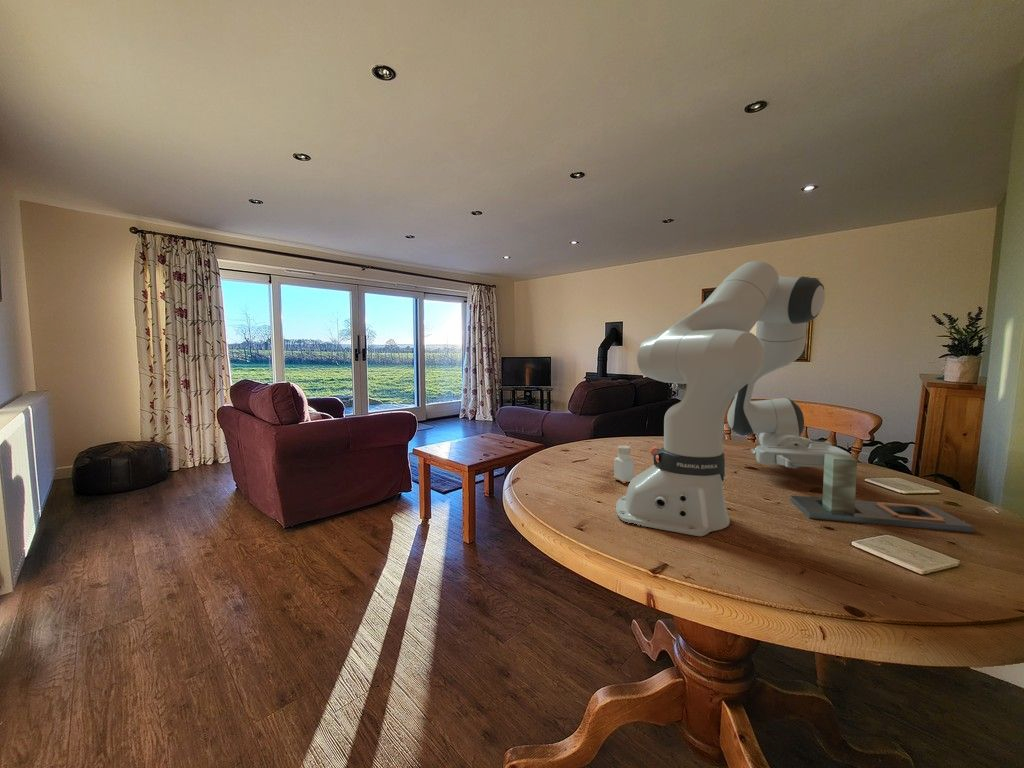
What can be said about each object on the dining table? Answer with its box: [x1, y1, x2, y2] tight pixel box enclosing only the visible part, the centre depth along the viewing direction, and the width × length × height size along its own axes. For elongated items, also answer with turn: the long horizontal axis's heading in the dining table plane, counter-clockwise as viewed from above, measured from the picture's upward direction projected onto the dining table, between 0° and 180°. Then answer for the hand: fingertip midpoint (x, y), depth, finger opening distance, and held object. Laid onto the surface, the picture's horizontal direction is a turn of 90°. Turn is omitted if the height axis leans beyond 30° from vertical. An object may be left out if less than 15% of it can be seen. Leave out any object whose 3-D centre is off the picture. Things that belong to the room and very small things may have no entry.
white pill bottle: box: [613, 444, 635, 481], centre depth 105 cm, size 4×4×10 cm
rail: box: [789, 495, 975, 534], centre depth 81 cm, size 26×10×2 cm, turn 73°
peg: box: [822, 454, 858, 513], centre depth 83 cm, size 4×4×12 cm
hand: (813, 465), depth 94 cm, fingers open, 8 cm apart
